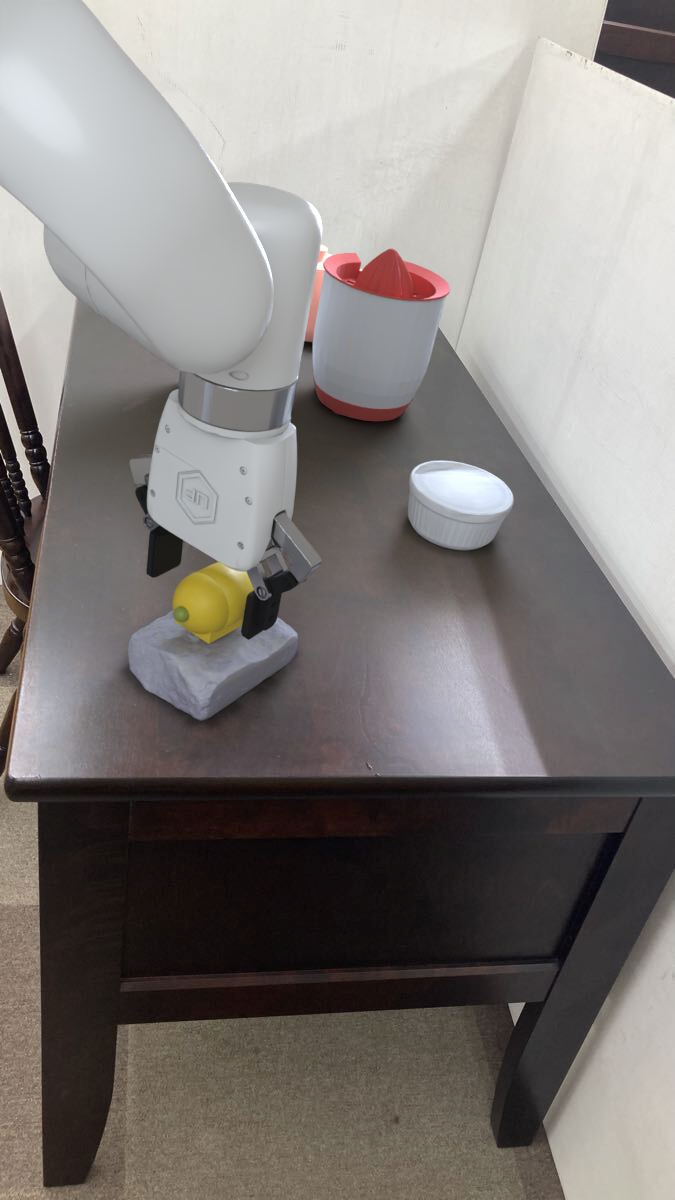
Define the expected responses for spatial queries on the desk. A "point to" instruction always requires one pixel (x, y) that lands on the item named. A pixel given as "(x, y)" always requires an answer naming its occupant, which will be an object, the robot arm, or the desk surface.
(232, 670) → the stone block
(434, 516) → the ramekin
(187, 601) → the lemon
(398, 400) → the citrus juicer
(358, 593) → the desk surface
